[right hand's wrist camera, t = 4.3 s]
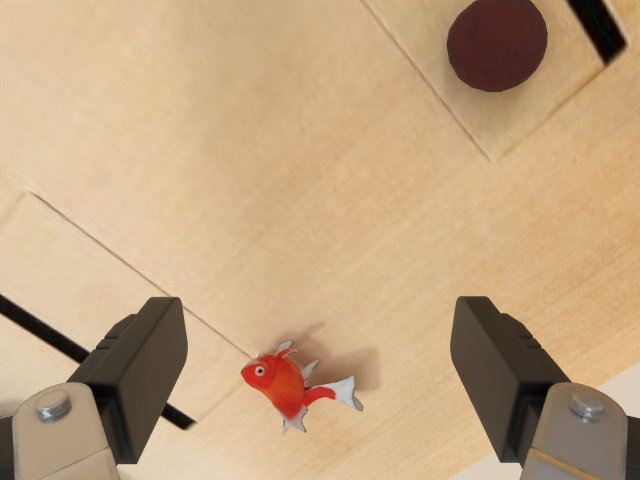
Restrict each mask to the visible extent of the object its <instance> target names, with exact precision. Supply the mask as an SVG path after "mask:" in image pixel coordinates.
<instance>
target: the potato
mask: <svg viewBox="0 0 640 480" xmlns="http://www.w3.org/2000/svg"><path fill="white" fill-rule="evenodd" d="M547 36H548V33H547V28H546V24H545V21H544V19H543V17H542V15H541V13H540V12H539V10H538V9H537V8H536V6H535V5H534V4H533V3H532V2H531V1H530V0H477V1H474V2H473V3H472V4H471V5H470V6H468V7H467V8H466V9H465V10H464V11H463V12H461V13H460V14H459V15H458V17H457V18H456V20H455V22H454V23H453V25H452V26H451V28H450V30H449V34H448V40H447V50H448V55H449V61H450V64H451V65H452V67H453V69H454V71H455V72H456V74H457V76H458V78H459V79H461V80H462V81H463V82H465V83H466V84H468V85H469V86H470V87H472V88H476V89H480V90H483V91H487V92H501V91H504V90H507V89H510V88H513V87H515V86H517V85H519V84H521V83H522V82H524V81H525V80H527V79H528V78H529V77H530V76H531V75H532V74H533V73H534V72H535V71H536V69H537V68H538V66H539V64H540V63H541V61H542V59H543V57H544V54H545V50H546V47H547Z"/></svg>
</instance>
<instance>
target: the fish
mask: <svg viewBox="0 0 640 480" xmlns="http://www.w3.org/2000/svg"><path fill="white" fill-rule="evenodd" d="M291 344H292V342H291V341H287V342H284V343H282V344H280V346H279V348H278V350H277V352H276V353H268V354H265V355H262V356H260V354H259V356H258V357H257V358H255V359H253V360H251V361H250V362H248V363H247V364H246V365H245V366H244V367H243V369H242V370H241V375H242V376H243V378H244V380H245V381H246V382H247V383H248V384H249V385H250V386H252V387H253V388H255V389H257V390H259V391H261V392H262V393H263V394H264V395H265V396H267V397H268V398H269V399H270V400H271V401H272V404H273V405H274V407H275V408H276V409H277V411H278V412H279V413H280V414H281V416H282V417H283V418H284V434H285V432H286V431H287V430H288V428H289V427H290V426H291V425H292V426H293V427H295V428H297V429H299V430H301V431H303V432H306V430H305V428H304V426H303V423H302V418H303V416H304V415H305V414H306V413H307V411H308V409H307V407H308V406H309V405H310V404H311V403H312V402H314V401H315V400H317V399H319V398H323V397H328V398H330V399H334V400H337V401H340V402H343V403H345V404H347V405H349V406H351V407H352V408H354V409H356V410H358V411H363V405H362V404H361V402H360V401H359V400H358V399H357V398H356V397H354V388H355V385H354V377H353V376H350V377H347V378H344V379H342V380H339V381H337V382H335V383H330V384H325V385H319V386H314V387H308V388H306V387H304V381H305V380H306V379H307V378H308V377H309V375H310V374H311V372H312V370H313V369H314V367H315V366H316V364H317V363H318V361H319V359H317V360H316V361H314V362H313V363H311V364H309V365H308V366H307V367H306V368H304V369H303V370H302V371H300V369H299V368H298V366H297V365H296V364H295V363H294V361H293V360H292V359H290V358H289V357H287V356H288V354H289V353H290V352H292V351H295V352H297V351H298V350H297V349H290V347H291Z"/></svg>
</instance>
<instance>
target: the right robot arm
mask: <svg viewBox="0 0 640 480" xmlns="http://www.w3.org/2000/svg"><path fill="white" fill-rule="evenodd" d="M450 350H451V357H452V361H453V364H454V366H455V368H456V370H457V372H458V375H459V377H460V379H461V381H462V383H463V385H464V387H465V389H466V391H467V394H468V396H469V398H470V400H471V402H472V404H473V406H474V408H475V410H476V412H477V415H478V417H479V419H480V421H481V423H482V425H483V427H484V429H485V431H486V433H487V436H488V438H489V440H490V442H491V444H492V446H493V448H494V450H495V452H496V454H497V457H498V459H499V461H500V462H501V463H520V465H521V467H522V469H523V470H522V474H521V477H520V480H640V418H636V417H631V416H627V415H626V413H625V412H624V410H623V409H622V408H621V407H620V406H619V404H617V403H616V402H615V401H614V400H613V399H612V398H610V397H609V396H607V395H606V394H604V393H602V392H600V391H598V390H596V389H594V388H592V387H589V386H586V385H583V384H578V383H572V382H571V381H570V379H569V378H568V377H567V376H566V375H565V374H564V372H563V371H562V370H561V369H560V368H559V366H558V365H557V364H556V363H555V362H554V360H553V359H552V358H551V357H550V356H549V355H548V353H547V352H546V351H545V350H544V349H542V348H541V345H540V344H539V343H538V341H537V340H536V339H535V338H533V336H532V334H531V333H530V332H529V331H528V330H527V328H526V327H525V326H524V325H523V324H522V323H521V322H519V321H518V320H516V319H514V318H513V317H511V316H510V315H508V314H507V313H500V312H499V311H498V309H497V308H496V307H495V306H494V304H493V303H492V302H491V301H490V299H489V298H488V297H486V296H460V297H458V299H457V302H456V307H455V314H454V321H453V328H452V334H451V342H450ZM187 351H188V342H187V335H186V328H185V322H184V315H183V308H182V303H181V300H180V298H179V297H151V298H150V299H149V300H148V301H147V302H146V303H145V305H144V306H143V307H142V308H141V310H140V311H139V312H138V313H137V314H131V315H129V316H127V317H126V318H124V319H123V320H121V321H120V322H118V323H117V324H115V325H114V326H113V327H112V329H111V330H110V331H109V332H108V333H107V334H106V336H105V338H104V339H102V340H101V341H100V343H99V344H98V345H97V346H96V349H95V350H93V351H92V352H91V353H90V354H89V356H88V357H87V358H86V359H85V360H84V361H83V363H82V364H81V365H80V366H79V367H78V369H77V370H76V371H75V372H74V373H73V374H72V376H71V377H70V378H69V379H68V380H67V381H66V383H62V384H57V385H54V386H51V387H48V388H46V389H44V390H42V391H40V392H38V393H36V394H34V395H33V396H31V397H30V398H28V399H27V400H26V401H25V402H24V403H22V404H21V405H20V407H19V408H18V409H17V410H16V412H15V413H14V416H11V417H7V418H3V419H0V480H120V477H119V474H118V470H117V467H116V466H117V465H118V464H137V462H138V460H139V458H140V456H141V454H142V452H143V450H144V448H145V446H146V444H147V442H148V440H149V438H150V435H151V433H152V431H153V429H154V427H155V425H156V423H157V421H158V419H159V417H160V415H161V413H162V411H163V408H164V406H165V404H166V402H167V400H168V398H169V396H170V394H171V392H172V390H173V388H174V386H175V383H176V381H177V379H178V377H179V375H180V373H181V371H182V369H183V367H184V365H185V362H186V358H187Z"/></svg>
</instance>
